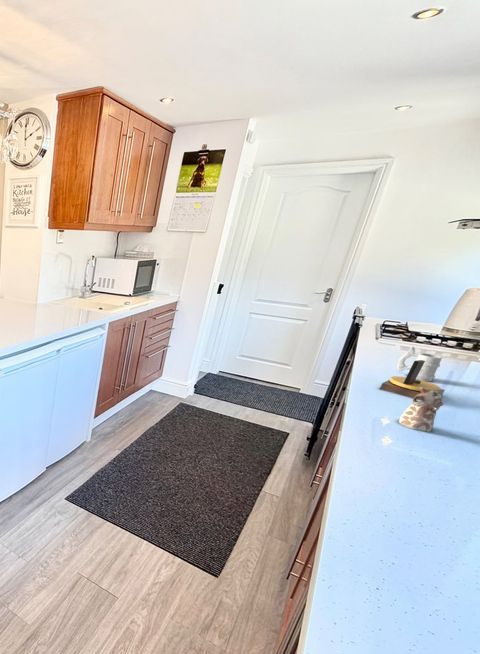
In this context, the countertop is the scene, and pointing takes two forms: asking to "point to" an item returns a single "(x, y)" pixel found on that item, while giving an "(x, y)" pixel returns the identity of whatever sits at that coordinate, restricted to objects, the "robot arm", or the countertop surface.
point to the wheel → (414, 379)
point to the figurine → (422, 411)
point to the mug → (428, 367)
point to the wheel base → (403, 390)
